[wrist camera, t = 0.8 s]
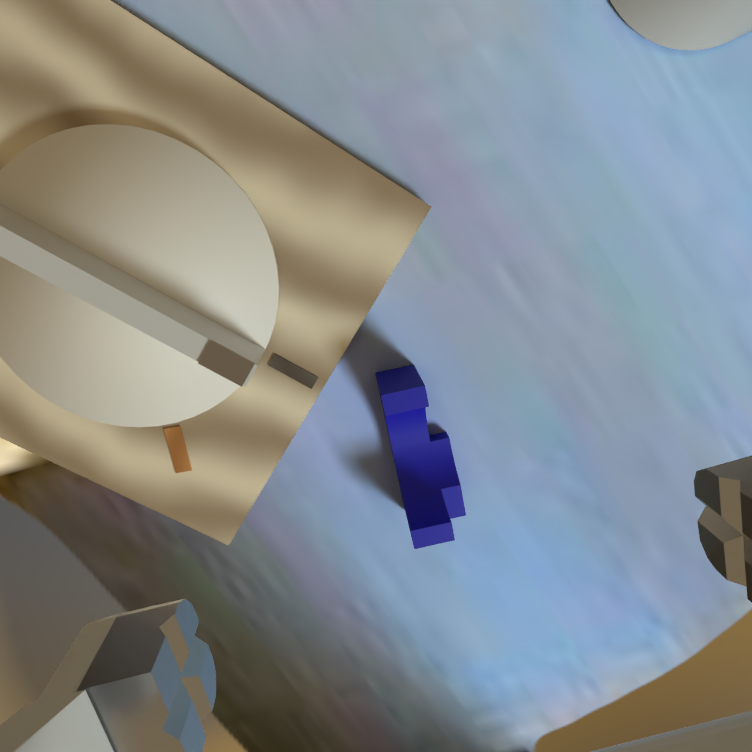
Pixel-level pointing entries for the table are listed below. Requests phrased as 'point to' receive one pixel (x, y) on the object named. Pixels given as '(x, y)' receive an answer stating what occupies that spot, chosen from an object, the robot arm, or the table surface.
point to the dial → (131, 276)
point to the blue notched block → (420, 459)
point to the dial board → (278, 211)
